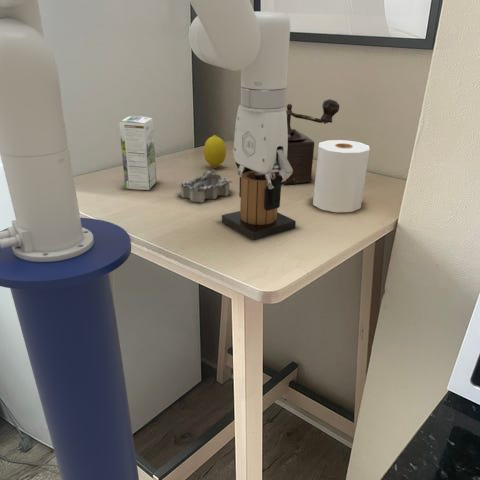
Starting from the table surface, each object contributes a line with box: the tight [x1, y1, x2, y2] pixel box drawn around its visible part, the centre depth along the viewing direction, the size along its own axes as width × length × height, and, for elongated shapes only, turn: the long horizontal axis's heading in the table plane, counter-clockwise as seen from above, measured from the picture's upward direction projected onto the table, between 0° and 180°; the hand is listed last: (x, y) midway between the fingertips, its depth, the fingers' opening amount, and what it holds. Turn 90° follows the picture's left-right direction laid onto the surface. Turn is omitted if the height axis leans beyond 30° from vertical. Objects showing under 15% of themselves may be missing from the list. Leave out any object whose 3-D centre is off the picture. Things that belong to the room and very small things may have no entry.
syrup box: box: [119, 115, 157, 191], centre depth 109 cm, size 6×6×14 cm
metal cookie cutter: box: [178, 169, 233, 203], centre depth 108 cm, size 11×8×4 cm
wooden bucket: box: [239, 171, 278, 225], centre depth 92 cm, size 7×7×8 cm
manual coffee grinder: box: [273, 98, 340, 185], centre depth 116 cm, size 16×11×18 cm
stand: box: [221, 172, 297, 241], centre depth 92 cm, size 10×10×10 cm
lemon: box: [203, 134, 227, 169], centre depth 124 cm, size 6×6×8 cm
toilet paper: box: [312, 139, 371, 214], centre depth 102 cm, size 10×10×12 cm
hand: (259, 201), depth 92 cm, fingers closed on wooden bucket, 6 cm apart
